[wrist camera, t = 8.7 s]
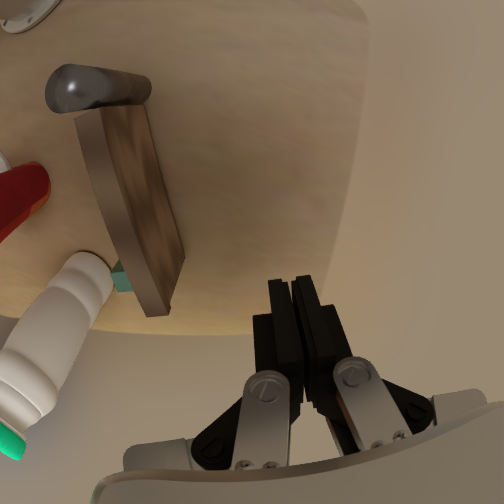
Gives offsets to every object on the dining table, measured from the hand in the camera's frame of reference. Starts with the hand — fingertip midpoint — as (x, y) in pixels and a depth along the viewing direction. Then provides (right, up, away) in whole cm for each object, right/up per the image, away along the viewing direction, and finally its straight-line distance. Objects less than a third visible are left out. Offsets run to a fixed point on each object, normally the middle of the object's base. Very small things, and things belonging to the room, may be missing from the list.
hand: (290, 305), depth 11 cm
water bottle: (-22, 0, +20) cm, 30 cm away
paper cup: (-27, +10, +14) cm, 32 cm away
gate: (-11, +8, +14) cm, 19 cm away
